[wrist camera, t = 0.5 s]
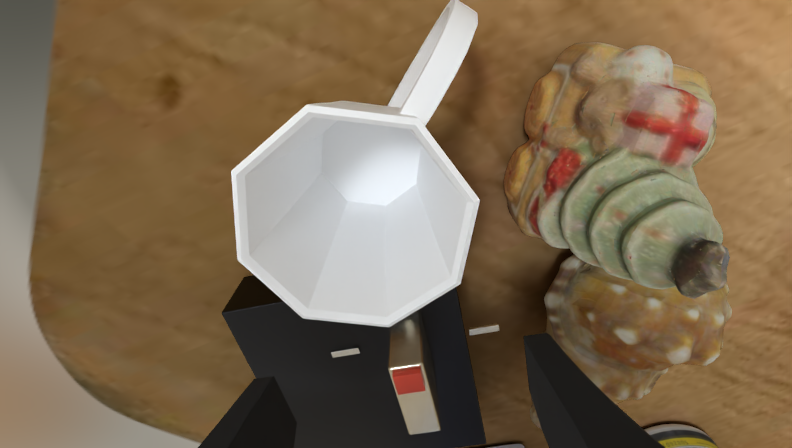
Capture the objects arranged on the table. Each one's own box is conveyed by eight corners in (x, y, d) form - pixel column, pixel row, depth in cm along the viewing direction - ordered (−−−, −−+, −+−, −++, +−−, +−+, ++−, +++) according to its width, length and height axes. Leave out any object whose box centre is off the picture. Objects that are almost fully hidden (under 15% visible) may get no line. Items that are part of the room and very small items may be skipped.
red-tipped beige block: (435, 367, 20) (441, 436, 17) (407, 372, 20) (409, 441, 17) (419, 305, 18) (423, 368, 15) (389, 310, 18) (387, 374, 15)
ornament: (531, 33, 16) (699, 42, 7) (679, 51, 16) (1031, 83, 7) (489, 212, 19) (564, 372, 10) (611, 225, 20) (788, 393, 11)
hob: (502, 395, 25) (515, 442, 22) (313, 423, 26) (302, 470, 24) (476, 221, 20) (488, 254, 17) (239, 267, 21) (214, 305, 18)
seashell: (623, 308, 26) (627, 480, 20) (511, 255, 26) (479, 411, 19) (768, 233, 18) (846, 470, 12) (611, 158, 18) (611, 359, 12)
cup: (272, 177, 19) (190, 272, 11) (370, -44, 15) (340, -112, 8) (401, 242, 20) (401, 362, 13) (522, 56, 16) (619, 80, 9)
